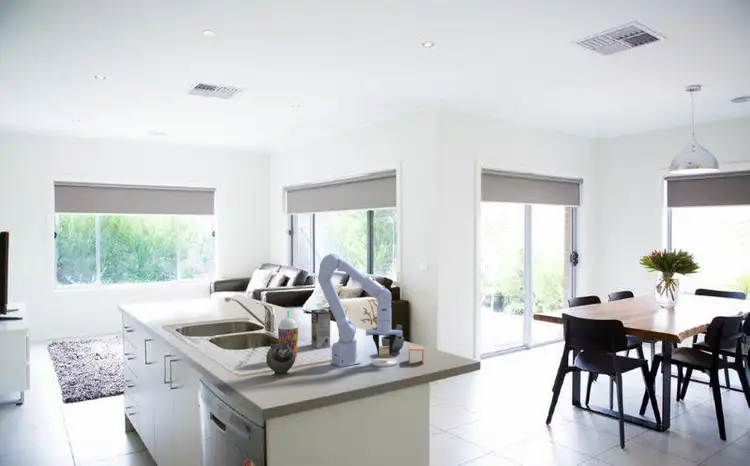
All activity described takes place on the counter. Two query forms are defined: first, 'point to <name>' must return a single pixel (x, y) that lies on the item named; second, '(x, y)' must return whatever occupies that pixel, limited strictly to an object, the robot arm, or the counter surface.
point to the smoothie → (288, 332)
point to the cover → (417, 348)
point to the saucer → (384, 362)
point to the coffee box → (320, 328)
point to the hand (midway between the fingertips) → (384, 353)
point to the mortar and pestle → (397, 343)
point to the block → (383, 352)
